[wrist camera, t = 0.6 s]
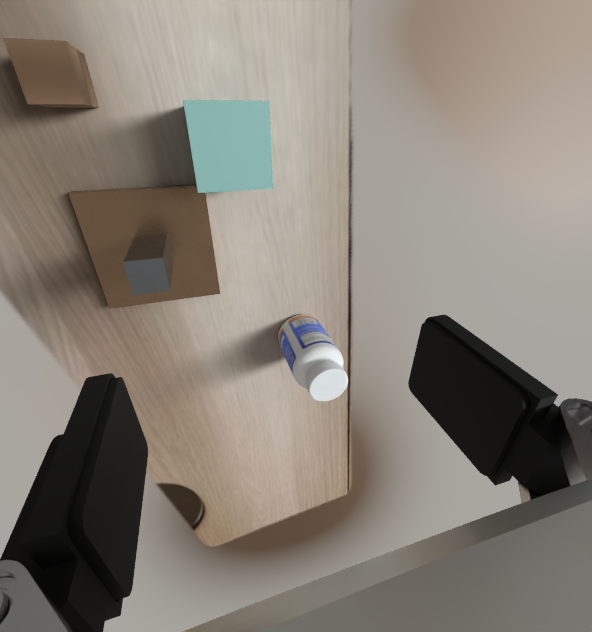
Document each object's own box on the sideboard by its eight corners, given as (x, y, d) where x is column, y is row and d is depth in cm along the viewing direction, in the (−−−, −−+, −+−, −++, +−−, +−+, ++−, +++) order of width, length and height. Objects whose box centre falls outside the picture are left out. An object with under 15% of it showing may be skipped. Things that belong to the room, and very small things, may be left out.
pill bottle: (300, 357, 40) (328, 414, 32) (267, 338, 37) (290, 396, 29) (328, 326, 39) (366, 377, 31) (298, 304, 36) (330, 354, 28)
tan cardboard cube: (32, 52, 21) (3, 37, 17) (84, 54, 21) (65, 40, 18) (51, 107, 22) (27, 104, 19) (98, 107, 23) (83, 104, 20)
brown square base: (72, 191, 25) (38, 210, 19) (203, 184, 27) (208, 199, 22) (111, 303, 30) (93, 345, 24) (219, 289, 32) (226, 324, 27)
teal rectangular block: (183, 106, 24) (183, 100, 19) (251, 106, 26) (269, 101, 20) (195, 179, 27) (198, 192, 21) (256, 176, 28) (272, 188, 23)
